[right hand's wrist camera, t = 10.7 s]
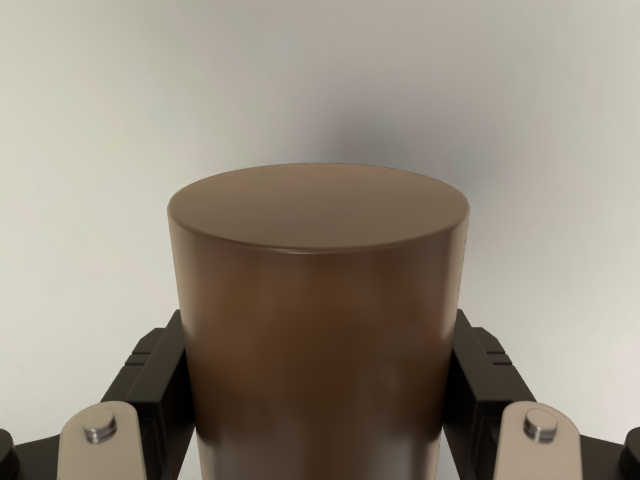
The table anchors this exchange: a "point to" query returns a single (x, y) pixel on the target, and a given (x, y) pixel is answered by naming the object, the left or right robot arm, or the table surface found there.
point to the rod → (318, 318)
